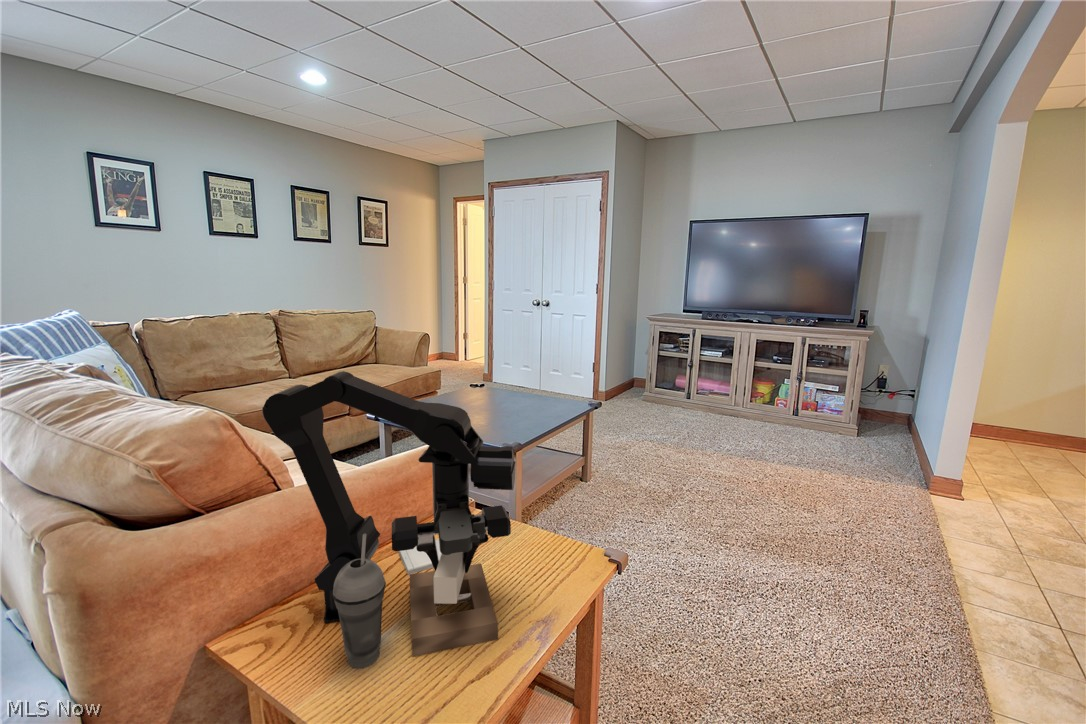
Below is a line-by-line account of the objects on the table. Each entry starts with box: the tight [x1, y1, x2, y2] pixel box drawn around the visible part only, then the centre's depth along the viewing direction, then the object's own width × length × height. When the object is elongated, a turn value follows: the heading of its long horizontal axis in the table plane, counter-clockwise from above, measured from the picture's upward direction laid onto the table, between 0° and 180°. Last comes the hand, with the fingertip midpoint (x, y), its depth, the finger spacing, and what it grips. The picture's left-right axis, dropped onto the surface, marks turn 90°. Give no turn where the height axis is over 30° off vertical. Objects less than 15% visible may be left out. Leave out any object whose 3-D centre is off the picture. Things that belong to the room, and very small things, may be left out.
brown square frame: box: [409, 563, 499, 658], centre depth 81 cm, size 13×16×3 cm
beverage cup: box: [332, 534, 387, 670], centre depth 70 cm, size 7×7×20 cm
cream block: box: [433, 552, 465, 605], centre depth 80 cm, size 4×12×4 cm, turn 0°
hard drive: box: [398, 538, 442, 575], centre depth 98 cm, size 2×8×12 cm
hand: (452, 573), depth 80 cm, fingers closed on cream block, 4 cm apart
